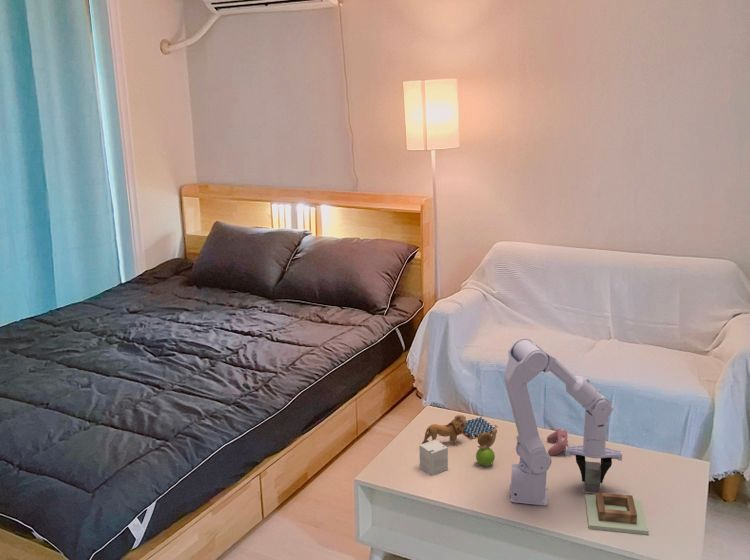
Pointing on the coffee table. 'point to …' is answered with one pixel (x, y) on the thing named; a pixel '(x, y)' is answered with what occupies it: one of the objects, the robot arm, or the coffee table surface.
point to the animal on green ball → (486, 448)
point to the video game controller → (558, 441)
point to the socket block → (615, 513)
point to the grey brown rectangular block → (592, 477)
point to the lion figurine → (447, 429)
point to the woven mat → (477, 428)
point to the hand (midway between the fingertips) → (591, 480)
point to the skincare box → (433, 457)
